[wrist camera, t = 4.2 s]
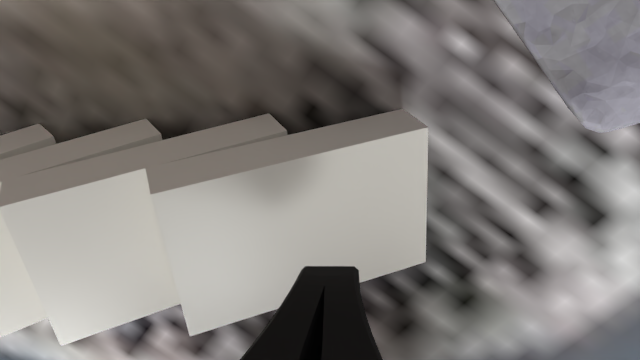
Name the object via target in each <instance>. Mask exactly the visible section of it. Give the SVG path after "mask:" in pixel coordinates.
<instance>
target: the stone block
mask: <svg viewBox="0 0 640 360" xmlns="http://www.w3.org/2000/svg"><path fill="white" fill-rule="evenodd" d="M494 2H495V3H496V5H497V6H498V8H499V9H500V10H501V12H502V13H503V15H504V16H505V17H506V19H507V20H508V22H509V23H510V24H511V26H512V27H513V29H514V30H515V32H516V33H517V35H518V36H519V37H520V39H521V40H522V42H523V43H524V44H525V46H526V47H527V49H528V50H529V51H530V53H531V54H532V56H533V57H534V59H535V60H536V62H537V63H538V65H539V66H540V68H541V69H542V71H543V72H544V73H545V75H546V76H547V77H548V79H549V81H550V82H551V84H552V85H553V87H554V88H555V90H556V91H557V93H558V94H559V95H560V96H561V98H562V99H563V101H564V102H565V104H566V105H567V107H568V108H569V109H570V110H571V112H572V113H573V114H574V115H575V116H576V117H577V119H578V120H579V121H580V122H581V123H582V124H583V125H584V127H586V128H587V129H590V130H593V131H596V132H599V133H601V132H608V131H613V130H617V129H621V128H624V127H627V126H631V125H634V124H637V123H640V0H494Z"/></svg>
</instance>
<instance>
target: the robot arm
mask: <svg viewBox="0 0 640 360" xmlns="http://www.w3.org/2000/svg"><path fill="white" fill-rule="evenodd" d="M240 360H383V359H382V357H381V355H380V352H379V350H378V347H377V345H376V343H375V340H374V337H373V335H372V332H371V329H370V326H369V323H368V320H367V317H366V314H365V311H364V307H363V303H362V299H361V294H360V282H359V270H358V269H357V268H356V267H354V266H305V267H304V268H303V269H302V270H301V272H300V273H299V275H298V277H297V279H296V281H295V283H294V284H293V286H292V288H291V290H290V291H289V293H288V295H287V296H286V298H285V299H284V301H283V303H282V304H281V306H280V307H279V309H278V310H277V311H276V313H275V314H274V316H273V317H272V319H271V320H270V322H269V323H268V325H267V326H266V327H265V329H264V330H263V331H262V333H261V334H260V335H259V337H258V338H257V339H256V340H255V342H254V343H253V344H252V346H251V347H250V348H249V349H248V351H247V352H246V353H245V354H244V356H243V357H242V358H241V359H240Z"/></svg>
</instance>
